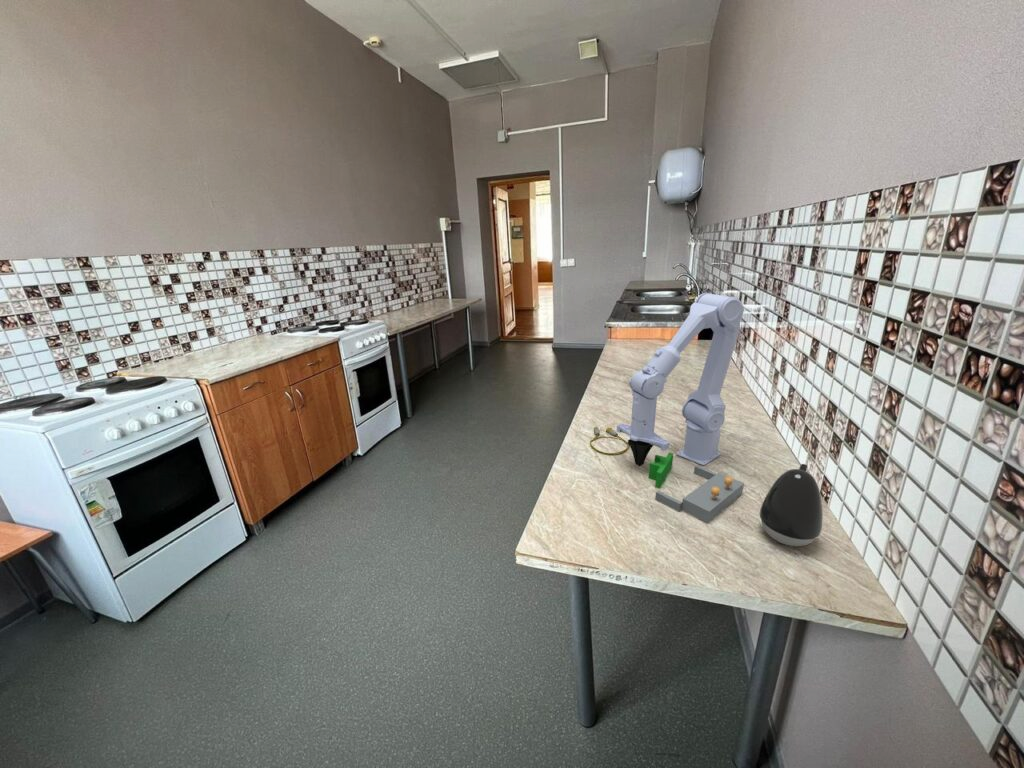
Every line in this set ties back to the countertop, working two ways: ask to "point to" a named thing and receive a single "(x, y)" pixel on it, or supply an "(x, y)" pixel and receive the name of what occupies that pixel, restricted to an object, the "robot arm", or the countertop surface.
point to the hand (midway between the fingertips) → (639, 464)
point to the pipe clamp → (660, 468)
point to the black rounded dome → (793, 508)
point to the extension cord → (611, 432)
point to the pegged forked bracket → (706, 495)
